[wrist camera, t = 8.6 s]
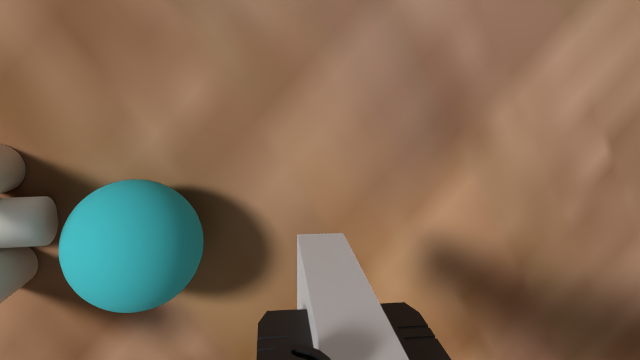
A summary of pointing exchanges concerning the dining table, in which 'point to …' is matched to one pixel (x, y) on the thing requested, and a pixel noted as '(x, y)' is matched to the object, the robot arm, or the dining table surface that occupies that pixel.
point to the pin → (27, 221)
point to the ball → (131, 246)
